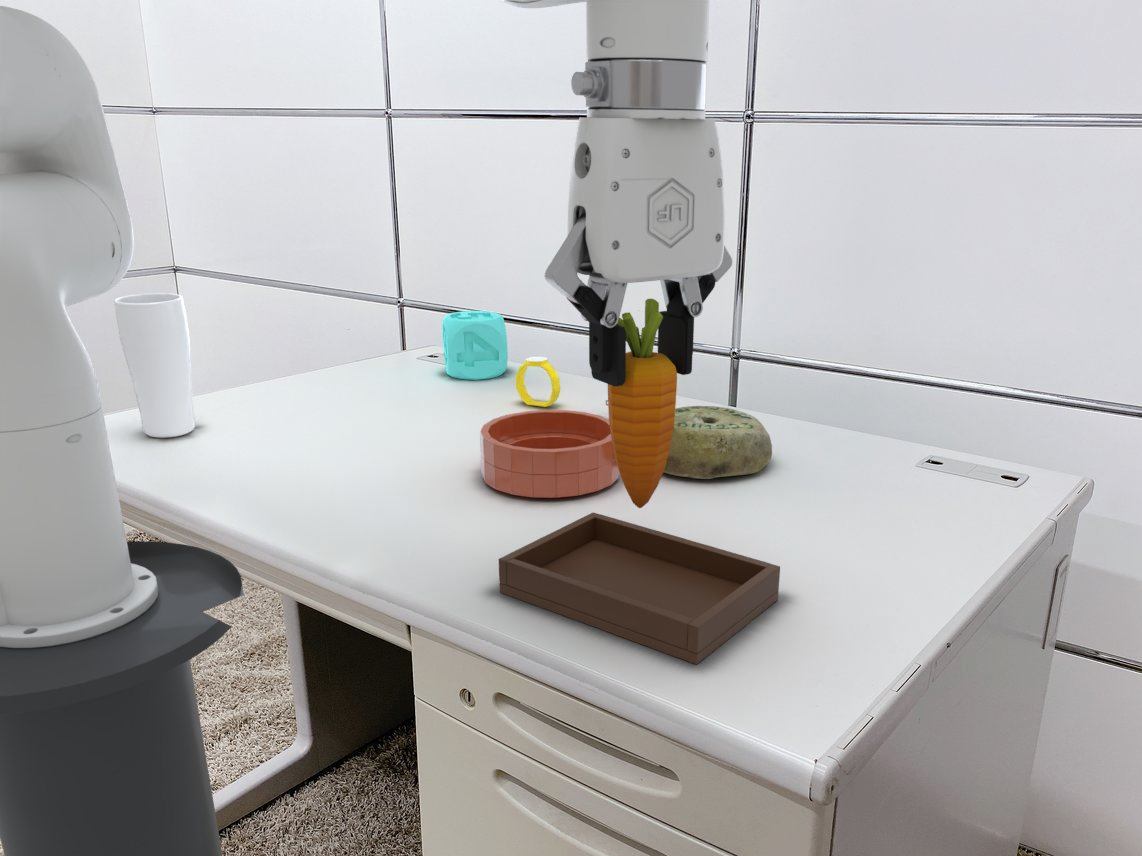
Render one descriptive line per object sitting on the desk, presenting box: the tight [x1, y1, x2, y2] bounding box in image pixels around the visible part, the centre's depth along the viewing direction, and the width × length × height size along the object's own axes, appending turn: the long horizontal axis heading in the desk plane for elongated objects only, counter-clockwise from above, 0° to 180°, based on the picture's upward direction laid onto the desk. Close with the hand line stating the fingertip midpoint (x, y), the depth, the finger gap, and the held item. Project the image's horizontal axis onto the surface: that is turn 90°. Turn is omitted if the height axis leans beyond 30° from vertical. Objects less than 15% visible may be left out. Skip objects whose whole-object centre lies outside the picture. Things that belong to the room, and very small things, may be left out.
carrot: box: [607, 298, 678, 509], centre depth 69 cm, size 5×5×15 cm
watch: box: [515, 356, 562, 408], centre depth 121 cm, size 6×3×6 cm, turn 58°
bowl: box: [479, 409, 620, 499], centre depth 97 cm, size 14×14×5 cm
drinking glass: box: [113, 292, 196, 439], centre depth 107 cm, size 7×7×15 cm
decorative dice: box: [441, 310, 509, 381], centre depth 135 cm, size 8×8×8 cm
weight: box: [663, 405, 773, 480], centre depth 102 cm, size 14×13×5 cm
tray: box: [498, 512, 781, 665], centre depth 73 cm, size 18×12×3 cm, turn 55°
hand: (642, 373), depth 68 cm, fingers closed on carrot, 5 cm apart
